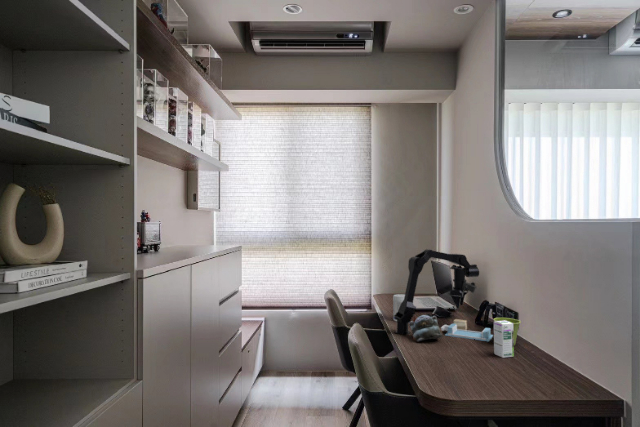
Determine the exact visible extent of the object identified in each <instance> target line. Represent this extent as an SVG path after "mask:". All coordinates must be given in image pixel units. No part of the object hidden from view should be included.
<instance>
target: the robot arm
mask: <svg viewBox="0 0 640 427" xmlns="http://www.w3.org/2000/svg"><path fill="white" fill-rule="evenodd" d="M431 258H432V259H438V260H443V261H447V262H449V263H451V264H452V266H450V267H449V269H450V270H453V279H452V282H453V286H452V289H451V290H450V291H449V295H450V297H451V299H452V301H453V303H454V305H455V307H456V309H460V306H463V305H464V303H465V302H464V301H465V296H467V294H468V293H469V292H470V293H472V294H474V293H475V292H476V289H477V287H478V286H477V285H476V282H474V281H472V282H467V281H468V280H467V279H466V278H477V277H479V275H480V269H479V268H478V265H477V264H474V263H472V264H470V262H469V261H468V259H467V257H466V255H465V254H462V253H446V252H442V251H441V252H440V251H437V250H432V249H428V248H427V249H424V250H423V251H422V252H420V253H418V254H416V255H415V256H411V257H410V258H409V259H408V263H407V264H408V267H407V268H408V277H407V278H408V279H407V283H406V287H405V293H404V294H405V297H404V300H403V302H402V303H401V305H400V307H399V310H398V312H397V313H396V314H395V315H394V318H395V320H397V322H396V331H394V334H397V335H403V336H407V335H409V334H410V333H411V331H410V330H409V322H411V321H412V318H413V317H415V315H416V309H417V306H416V305H415V304H414V298H415V293H416V289H417V284H418V280H419V275H420V274H421V272H422V271H423V269H424V267H425V266H424V265H425V264H427V263H428V262H429V260H430V259H431Z"/></svg>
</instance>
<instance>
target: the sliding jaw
mask: <svg viewBox="0 0 640 427" xmlns="http://www.w3.org/2000/svg"><path fill="white" fill-rule="evenodd" d="M440 329H441V330H442V332H444V331H446V332H448V333H450V334H454V333H455V332H456V331H457V325H456V324H454V323H451V324H450V325H447V324H444V325H442V326H441V327H440Z"/></svg>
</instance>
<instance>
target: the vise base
mask: <svg viewBox="0 0 640 427" xmlns="http://www.w3.org/2000/svg"><path fill="white" fill-rule="evenodd" d="M444 336H447V337H453V338H460V339H468V340H469V339H470V340H474V339H475V341H482V342H490V341H491V340H492V338H494V334H491V328H490V327H485V328H484V329H483V330H482V331H476V330H475V331H474V330H469V329H468V330H461V329H457V331H456V332H455V333H454V334H450V333H448V331H446V333H445V334H444Z"/></svg>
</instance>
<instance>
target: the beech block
mask: <svg viewBox="0 0 640 427" xmlns="http://www.w3.org/2000/svg"><path fill="white" fill-rule="evenodd" d="M453 324H456V325H457V329H461V330H467V329H468V320H466V319H458V318H455V319H454V320H453Z"/></svg>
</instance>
